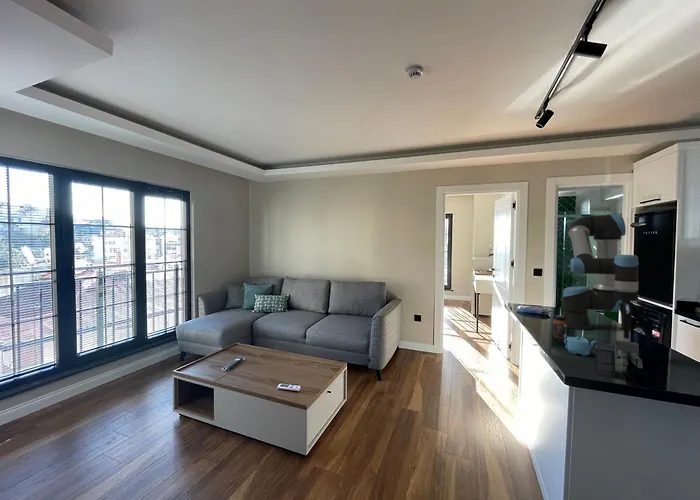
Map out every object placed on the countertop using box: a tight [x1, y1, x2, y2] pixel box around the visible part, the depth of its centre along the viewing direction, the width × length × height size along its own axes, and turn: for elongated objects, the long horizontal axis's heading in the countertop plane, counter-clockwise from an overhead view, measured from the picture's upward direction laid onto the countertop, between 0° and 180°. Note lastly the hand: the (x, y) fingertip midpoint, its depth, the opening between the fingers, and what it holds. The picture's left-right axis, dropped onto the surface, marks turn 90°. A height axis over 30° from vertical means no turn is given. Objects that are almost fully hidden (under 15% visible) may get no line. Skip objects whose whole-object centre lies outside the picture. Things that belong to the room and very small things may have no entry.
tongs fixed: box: [618, 350, 629, 367], centre depth 125 cm, size 15×3×3 cm, turn 142°
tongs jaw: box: [628, 352, 644, 369], centre depth 121 cm, size 11×2×3 cm, turn 150°
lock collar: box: [614, 339, 640, 359], centre depth 126 cm, size 3×7×7 cm, turn 52°
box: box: [595, 341, 616, 379], centre depth 113 cm, size 8×6×11 cm
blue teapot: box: [563, 336, 598, 357], centre depth 133 cm, size 12×6×8 cm, turn 60°
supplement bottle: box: [552, 314, 568, 340], centre depth 155 cm, size 6×6×11 cm
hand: (625, 344), depth 128 cm, fingers closed
